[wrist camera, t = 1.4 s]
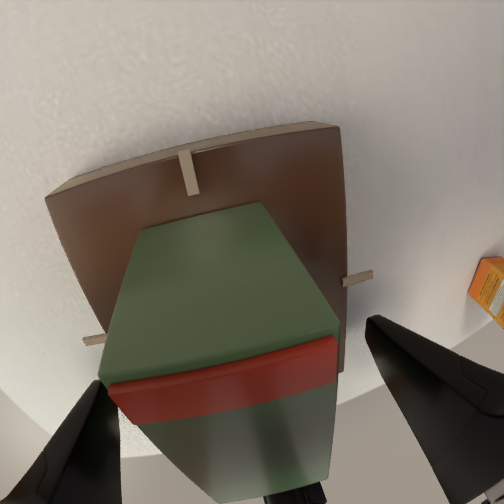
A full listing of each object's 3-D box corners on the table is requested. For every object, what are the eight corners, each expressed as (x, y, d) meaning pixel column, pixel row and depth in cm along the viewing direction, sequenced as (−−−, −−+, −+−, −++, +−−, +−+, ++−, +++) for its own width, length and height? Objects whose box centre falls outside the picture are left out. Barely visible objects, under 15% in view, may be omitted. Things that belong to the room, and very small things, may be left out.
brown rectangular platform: (344, 336, 17) (363, 368, 15) (143, 384, 16) (141, 421, 14) (337, 115, 11) (370, 121, 9) (47, 185, 10) (17, 206, 8)
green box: (286, 366, 14) (330, 484, 8) (202, 385, 13) (219, 509, 8) (260, 200, 10) (348, 331, 4) (139, 229, 9) (93, 387, 4)
